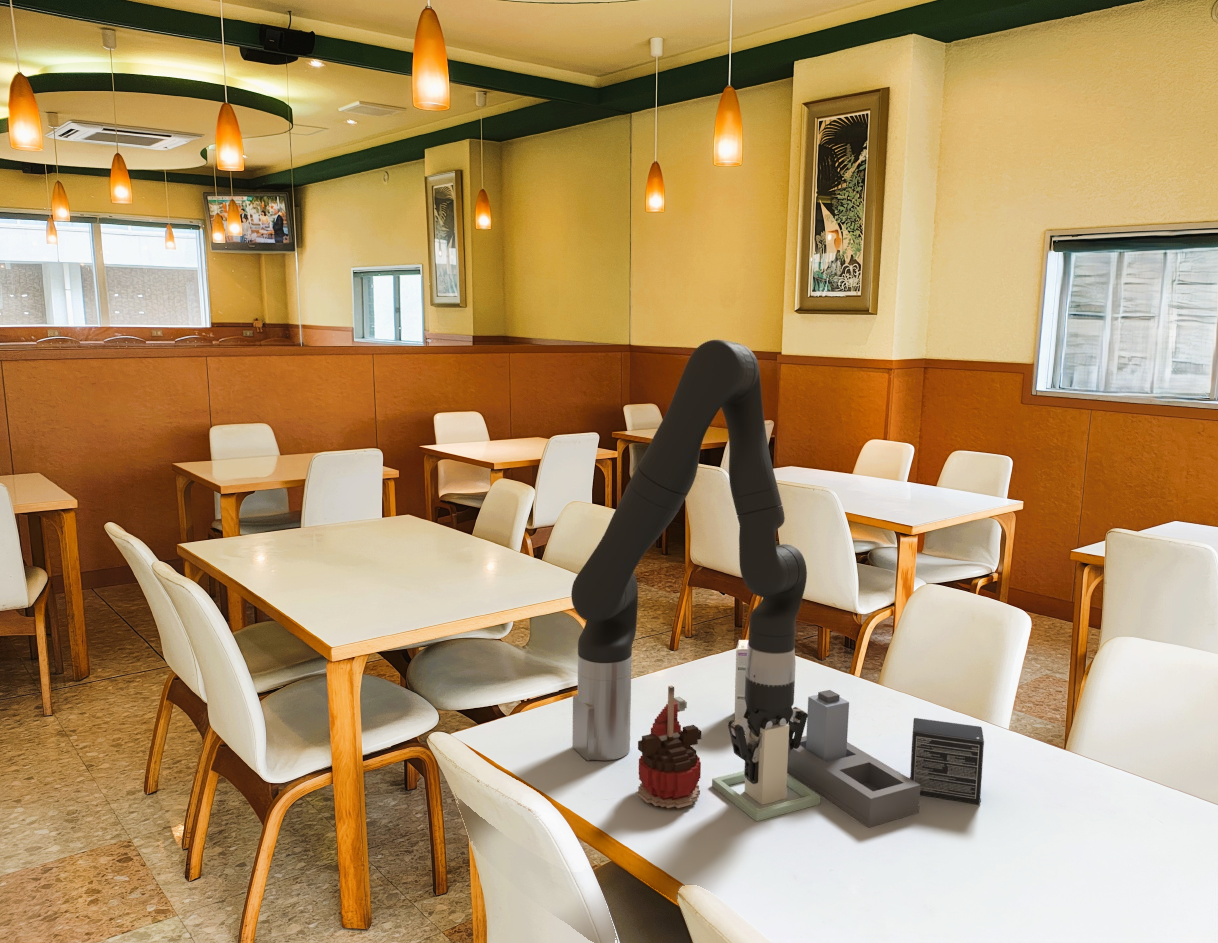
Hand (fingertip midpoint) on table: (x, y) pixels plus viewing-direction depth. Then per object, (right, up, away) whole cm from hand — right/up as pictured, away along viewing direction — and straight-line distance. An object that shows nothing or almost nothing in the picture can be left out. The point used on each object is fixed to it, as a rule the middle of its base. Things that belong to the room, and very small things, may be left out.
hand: (765, 777), depth 142 cm
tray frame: (0, -3, 0) cm, 3 cm away
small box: (+29, -3, +3) cm, 29 cm away
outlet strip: (+13, -3, +3) cm, 14 cm away
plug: (0, -3, 0) cm, 3 cm away
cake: (-15, -3, 0) cm, 16 cm away
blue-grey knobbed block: (+11, -1, +7) cm, 13 cm away
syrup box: (+2, +1, +29) cm, 29 cm away
